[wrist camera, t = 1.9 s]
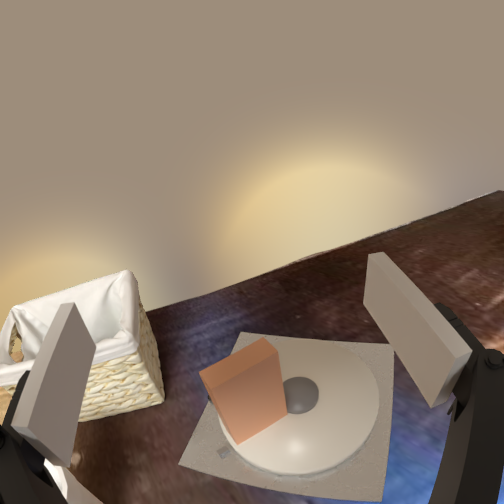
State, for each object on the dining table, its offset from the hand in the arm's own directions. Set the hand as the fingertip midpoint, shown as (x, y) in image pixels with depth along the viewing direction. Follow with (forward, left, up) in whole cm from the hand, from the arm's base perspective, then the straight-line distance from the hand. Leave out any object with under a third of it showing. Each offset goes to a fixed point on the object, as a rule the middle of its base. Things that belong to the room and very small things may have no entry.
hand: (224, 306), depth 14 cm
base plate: (+1, -12, -29) cm, 31 cm away
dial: (+1, -12, -29) cm, 31 cm away
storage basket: (+32, -8, -29) cm, 44 cm away
